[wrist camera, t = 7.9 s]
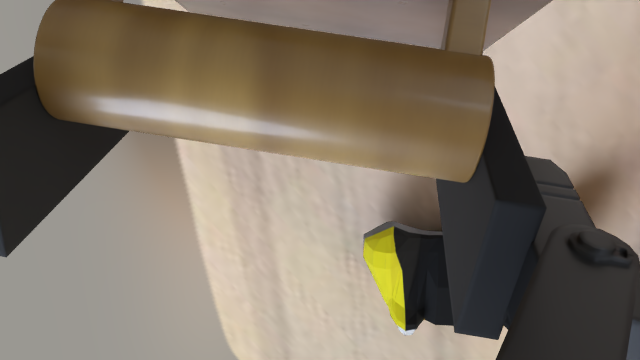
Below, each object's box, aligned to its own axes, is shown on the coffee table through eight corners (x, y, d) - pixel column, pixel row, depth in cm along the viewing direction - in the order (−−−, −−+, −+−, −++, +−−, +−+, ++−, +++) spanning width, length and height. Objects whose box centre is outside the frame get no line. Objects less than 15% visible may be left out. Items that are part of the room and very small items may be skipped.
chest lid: (-165, -343, 9) (-206, 83, 9) (794, -224, 8) (705, 225, 9) (190, -5, 28) (172, 126, 28) (482, 37, 27) (459, 171, 28)
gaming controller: (365, 193, 43) (364, 299, 48) (361, 235, 38) (361, 348, 43) (578, 200, 41) (555, 308, 46) (602, 245, 36) (573, 361, 41)
